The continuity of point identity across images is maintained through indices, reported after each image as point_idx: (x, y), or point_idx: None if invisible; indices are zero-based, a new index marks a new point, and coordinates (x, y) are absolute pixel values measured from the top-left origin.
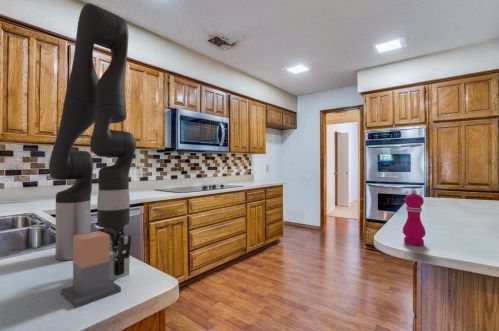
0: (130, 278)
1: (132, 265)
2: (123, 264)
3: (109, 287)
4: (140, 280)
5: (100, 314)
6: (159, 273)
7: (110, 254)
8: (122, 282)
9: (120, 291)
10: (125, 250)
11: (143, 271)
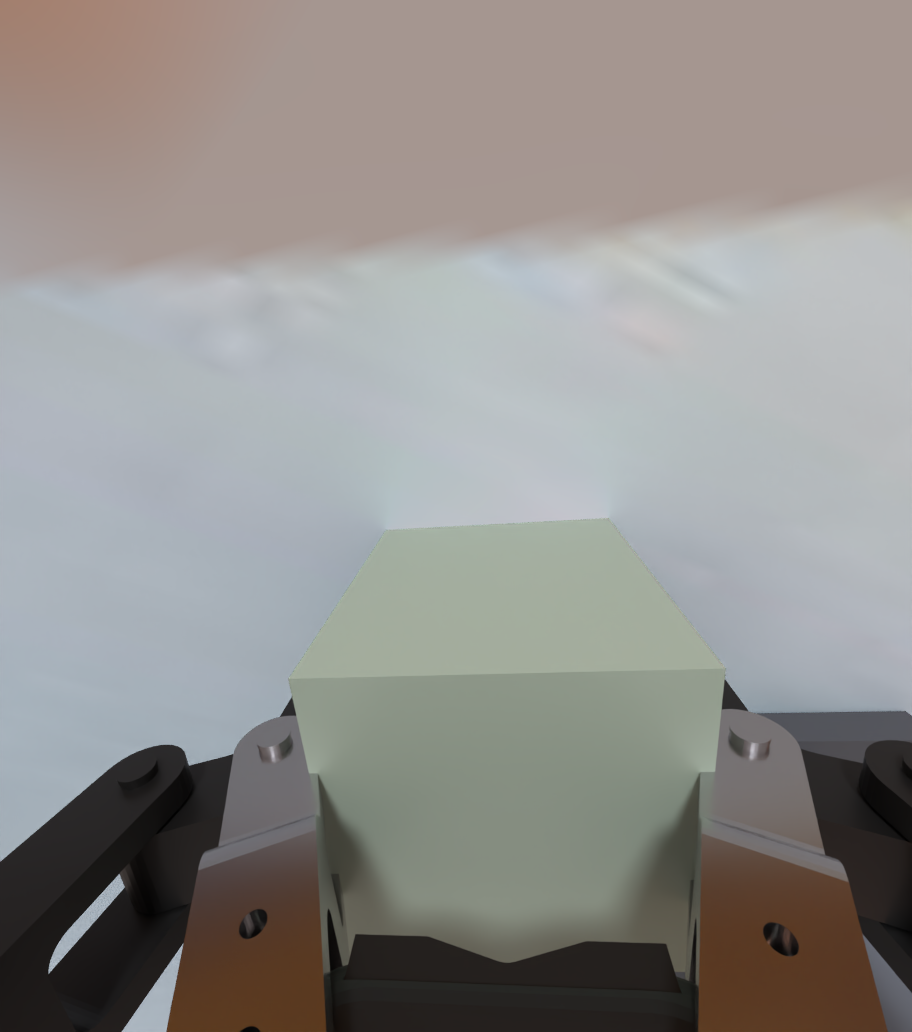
0: (711, 548)
1: (360, 379)
2: (728, 690)
3: None
4: (853, 500)
5: None
6: (888, 236)
7: (577, 902)
8: (734, 633)
9: (906, 715)
10: (557, 677)
11: (648, 364)
